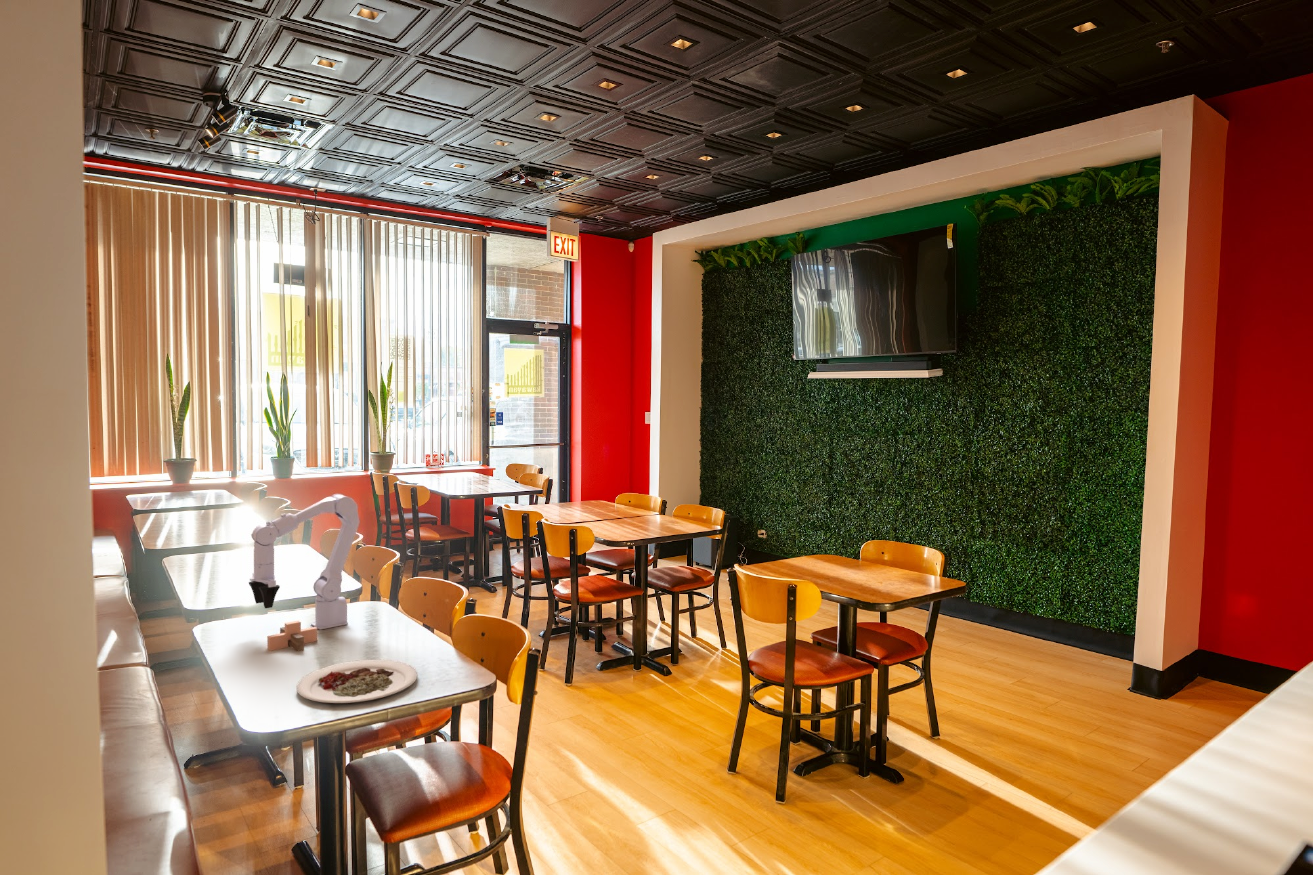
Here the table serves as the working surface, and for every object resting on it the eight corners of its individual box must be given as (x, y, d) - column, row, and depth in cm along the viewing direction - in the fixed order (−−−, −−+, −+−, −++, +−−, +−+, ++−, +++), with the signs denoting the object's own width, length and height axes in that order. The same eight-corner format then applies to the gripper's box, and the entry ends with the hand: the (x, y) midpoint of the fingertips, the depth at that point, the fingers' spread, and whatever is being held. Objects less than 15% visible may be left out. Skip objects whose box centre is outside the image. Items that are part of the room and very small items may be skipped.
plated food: (421, 699, 190) (421, 687, 190) (291, 715, 179) (291, 702, 179) (413, 661, 218) (413, 649, 218) (301, 672, 207) (301, 661, 207)
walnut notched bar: (286, 638, 234) (286, 626, 234) (303, 649, 225) (303, 636, 225) (280, 640, 233) (280, 627, 233) (297, 651, 223) (297, 638, 223)
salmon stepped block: (314, 639, 235) (314, 617, 234) (317, 640, 233) (317, 618, 233) (267, 649, 225) (267, 626, 224) (269, 650, 223) (269, 627, 223)
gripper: (242, 561, 238) (242, 602, 238) (258, 568, 228) (258, 612, 228) (265, 558, 243) (265, 599, 243) (282, 565, 233) (282, 608, 234)
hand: (264, 605), depth 236 cm, fingers open, 7 cm apart
